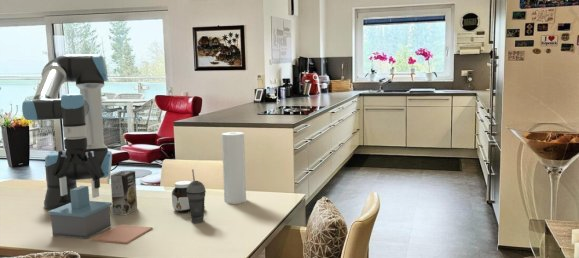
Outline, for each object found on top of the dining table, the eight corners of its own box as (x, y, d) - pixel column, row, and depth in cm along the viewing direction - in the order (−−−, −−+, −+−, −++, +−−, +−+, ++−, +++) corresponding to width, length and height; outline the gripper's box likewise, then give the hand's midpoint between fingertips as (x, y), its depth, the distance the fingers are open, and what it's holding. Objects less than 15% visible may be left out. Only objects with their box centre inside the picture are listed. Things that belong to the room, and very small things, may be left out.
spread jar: (169, 210, 211) (168, 182, 209) (192, 204, 219) (190, 177, 218) (187, 216, 203) (185, 187, 201) (209, 209, 211) (208, 181, 210)
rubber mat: (91, 240, 177) (91, 238, 177) (119, 226, 192) (119, 224, 192) (126, 243, 173) (126, 242, 173) (152, 228, 188) (152, 227, 188)
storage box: (52, 235, 183) (50, 213, 181) (79, 223, 196) (77, 203, 195) (86, 238, 178) (84, 216, 177) (110, 226, 192) (109, 205, 191)
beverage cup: (198, 225, 191) (195, 172, 188) (183, 222, 195) (181, 170, 192) (211, 219, 197) (208, 168, 194) (196, 217, 201) (194, 166, 198)
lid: (48, 217, 181) (46, 192, 180) (77, 205, 196) (75, 182, 194) (84, 220, 177) (82, 194, 176) (112, 208, 191) (110, 184, 190)
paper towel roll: (220, 202, 221) (217, 133, 217) (230, 197, 229) (228, 130, 226) (239, 204, 217) (237, 134, 213) (249, 198, 226) (247, 131, 222)
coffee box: (127, 215, 206) (124, 175, 203) (112, 214, 207) (109, 175, 205) (138, 208, 214) (135, 170, 212) (123, 208, 216) (121, 170, 214)
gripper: (38, 138, 183) (43, 196, 185) (98, 139, 176) (102, 200, 178) (53, 135, 190) (58, 191, 192) (112, 136, 183) (116, 195, 185)
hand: (79, 196), depth 185 cm, fingers open, 13 cm apart
